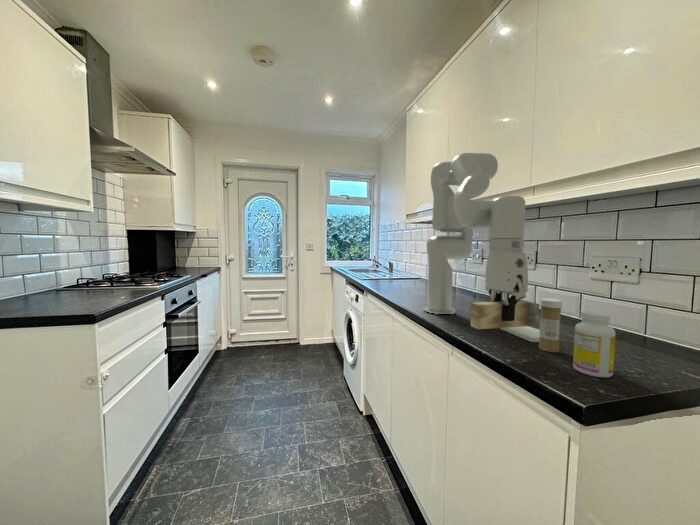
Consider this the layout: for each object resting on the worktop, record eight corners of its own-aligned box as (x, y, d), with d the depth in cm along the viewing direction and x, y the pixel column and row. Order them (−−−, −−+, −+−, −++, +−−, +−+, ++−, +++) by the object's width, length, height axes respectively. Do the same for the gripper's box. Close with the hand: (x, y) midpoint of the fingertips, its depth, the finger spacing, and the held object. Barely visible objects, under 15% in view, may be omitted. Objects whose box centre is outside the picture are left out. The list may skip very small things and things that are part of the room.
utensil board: (494, 326, 96) (494, 323, 96) (517, 325, 97) (517, 322, 97) (531, 342, 80) (532, 338, 80) (559, 340, 82) (559, 336, 82)
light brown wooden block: (482, 331, 67) (483, 306, 66) (466, 323, 74) (466, 301, 73) (538, 328, 69) (539, 304, 69) (517, 320, 76) (517, 298, 76)
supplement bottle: (599, 367, 64) (603, 311, 63) (621, 380, 57) (625, 318, 56) (566, 364, 65) (569, 309, 64) (583, 376, 59) (587, 316, 58)
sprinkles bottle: (560, 350, 74) (563, 299, 73) (557, 354, 71) (560, 301, 70) (540, 345, 77) (543, 297, 77) (536, 349, 74) (538, 299, 74)
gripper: (546, 246, 63) (542, 327, 64) (497, 246, 79) (494, 311, 80) (517, 246, 62) (513, 328, 63) (472, 246, 78) (470, 311, 79)
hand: (502, 318), depth 71 cm, fingers closed on light brown wooden block, 3 cm apart
